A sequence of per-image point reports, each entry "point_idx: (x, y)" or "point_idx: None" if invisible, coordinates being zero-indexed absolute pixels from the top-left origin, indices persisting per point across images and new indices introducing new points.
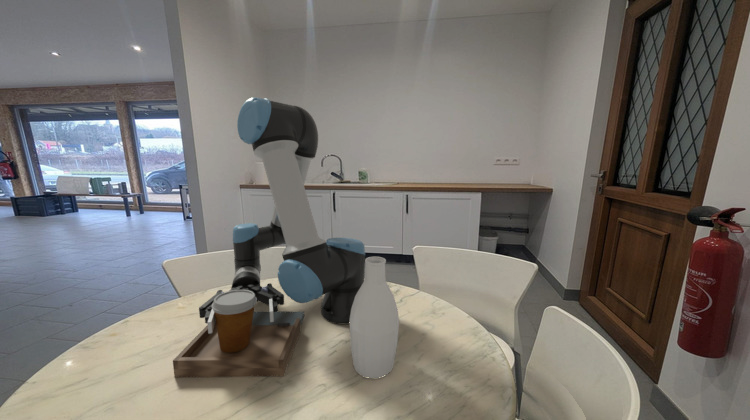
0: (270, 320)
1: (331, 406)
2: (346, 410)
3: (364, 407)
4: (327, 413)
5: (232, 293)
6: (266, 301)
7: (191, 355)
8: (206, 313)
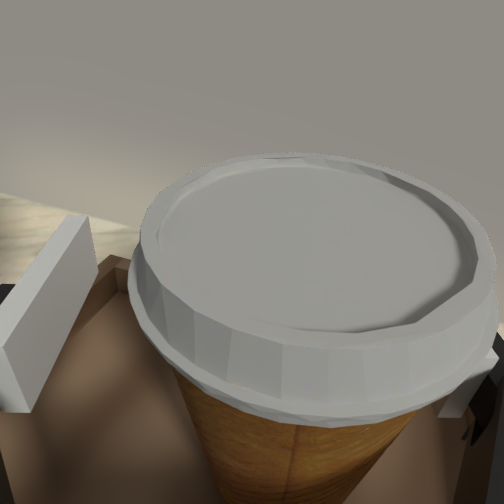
0: (95, 261)
1: (61, 218)
2: (43, 208)
3: (10, 203)
4: (77, 213)
5: (372, 310)
6: (3, 480)
7: (465, 443)
8: (501, 341)
